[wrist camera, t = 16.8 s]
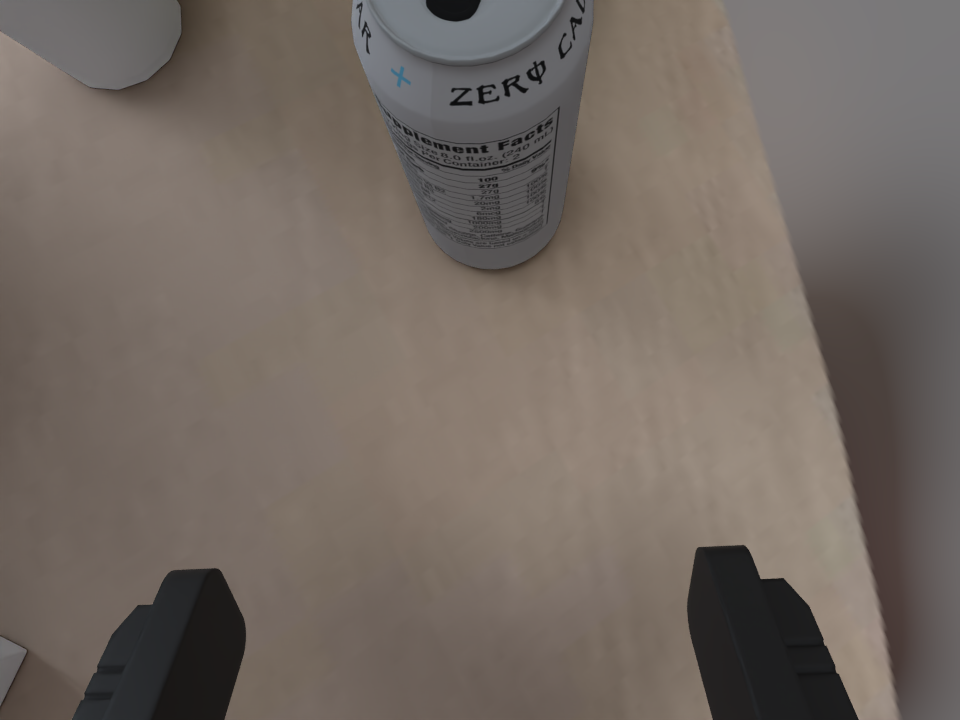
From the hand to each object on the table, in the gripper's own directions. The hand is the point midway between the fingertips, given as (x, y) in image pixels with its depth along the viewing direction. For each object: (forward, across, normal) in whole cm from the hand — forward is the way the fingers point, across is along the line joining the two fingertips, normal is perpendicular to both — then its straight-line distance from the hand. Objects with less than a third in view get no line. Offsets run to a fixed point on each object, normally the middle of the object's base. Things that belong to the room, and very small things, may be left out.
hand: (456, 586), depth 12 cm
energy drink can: (+21, -1, +3) cm, 21 cm away
